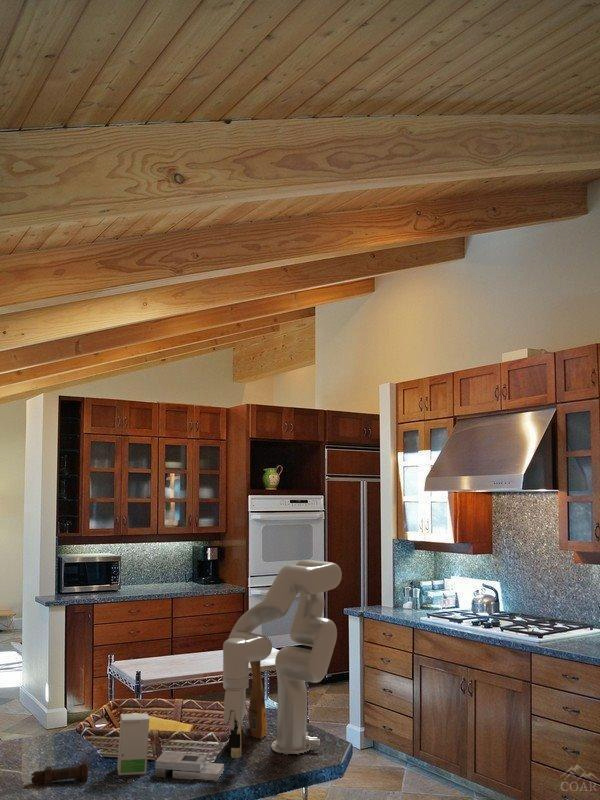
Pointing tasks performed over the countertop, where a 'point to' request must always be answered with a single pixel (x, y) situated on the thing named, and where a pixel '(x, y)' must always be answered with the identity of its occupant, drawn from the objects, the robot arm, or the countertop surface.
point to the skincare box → (133, 744)
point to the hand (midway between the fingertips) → (236, 744)
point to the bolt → (61, 774)
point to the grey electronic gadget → (187, 766)
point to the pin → (237, 751)
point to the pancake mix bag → (257, 704)
